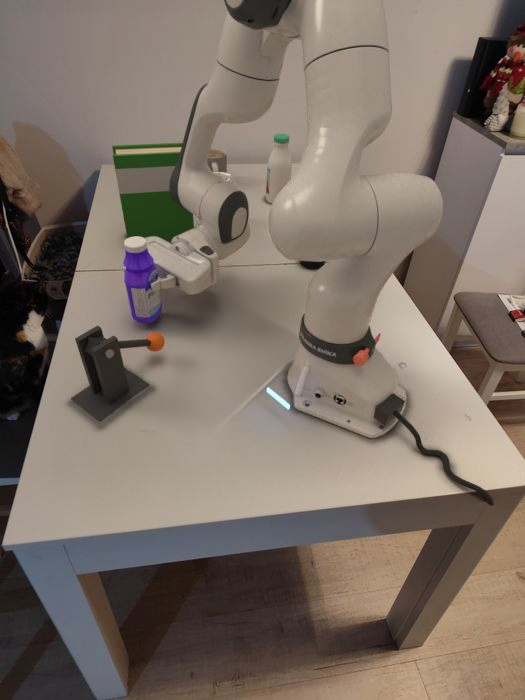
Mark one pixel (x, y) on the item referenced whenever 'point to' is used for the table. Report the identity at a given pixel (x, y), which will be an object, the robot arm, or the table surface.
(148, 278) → the bottle
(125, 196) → the hardback book
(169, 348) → the table surface
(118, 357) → the dark grey lever stand
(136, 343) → the switch
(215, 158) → the coffee mug
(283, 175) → the milk bottle
